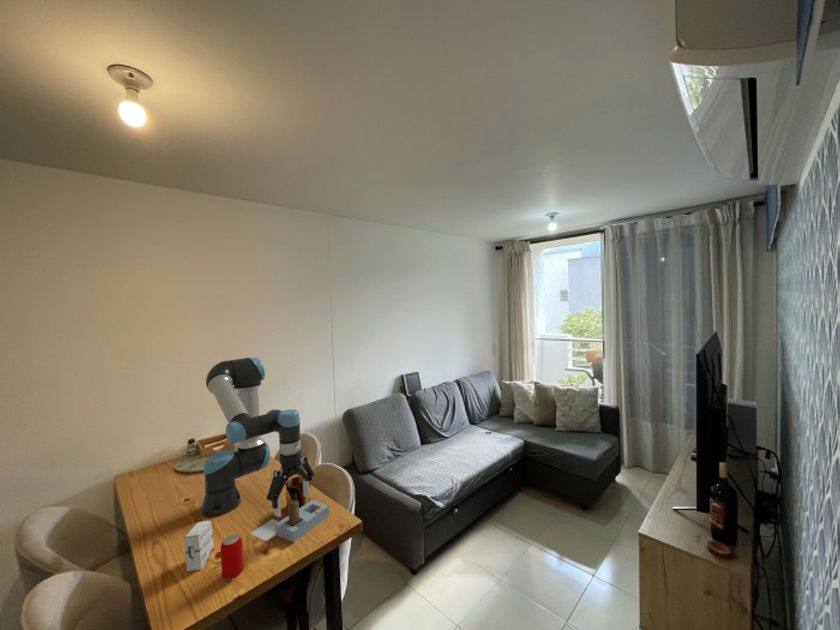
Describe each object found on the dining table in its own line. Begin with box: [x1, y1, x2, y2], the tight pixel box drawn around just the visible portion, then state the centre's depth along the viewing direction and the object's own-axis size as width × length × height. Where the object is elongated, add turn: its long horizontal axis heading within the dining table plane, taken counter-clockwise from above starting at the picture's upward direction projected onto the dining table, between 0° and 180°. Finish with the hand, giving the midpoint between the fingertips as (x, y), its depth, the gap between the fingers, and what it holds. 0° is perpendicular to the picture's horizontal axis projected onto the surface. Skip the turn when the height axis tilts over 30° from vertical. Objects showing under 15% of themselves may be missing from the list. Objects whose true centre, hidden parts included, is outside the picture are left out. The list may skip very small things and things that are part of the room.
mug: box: [285, 475, 311, 512], centre depth 144 cm, size 10×14×12 cm
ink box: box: [183, 520, 215, 572], centre depth 116 cm, size 9×5×12 cm, turn 5°
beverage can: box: [219, 534, 244, 581], centre depth 110 cm, size 6×6×12 cm
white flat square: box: [249, 518, 280, 542], centre depth 131 cm, size 10×10×1 cm
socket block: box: [275, 499, 330, 544], centre depth 133 cm, size 10×18×5 cm, turn 151°
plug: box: [287, 500, 300, 527], centre depth 129 cm, size 4×4×12 cm
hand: (292, 505), depth 129 cm, fingers open, 13 cm apart
